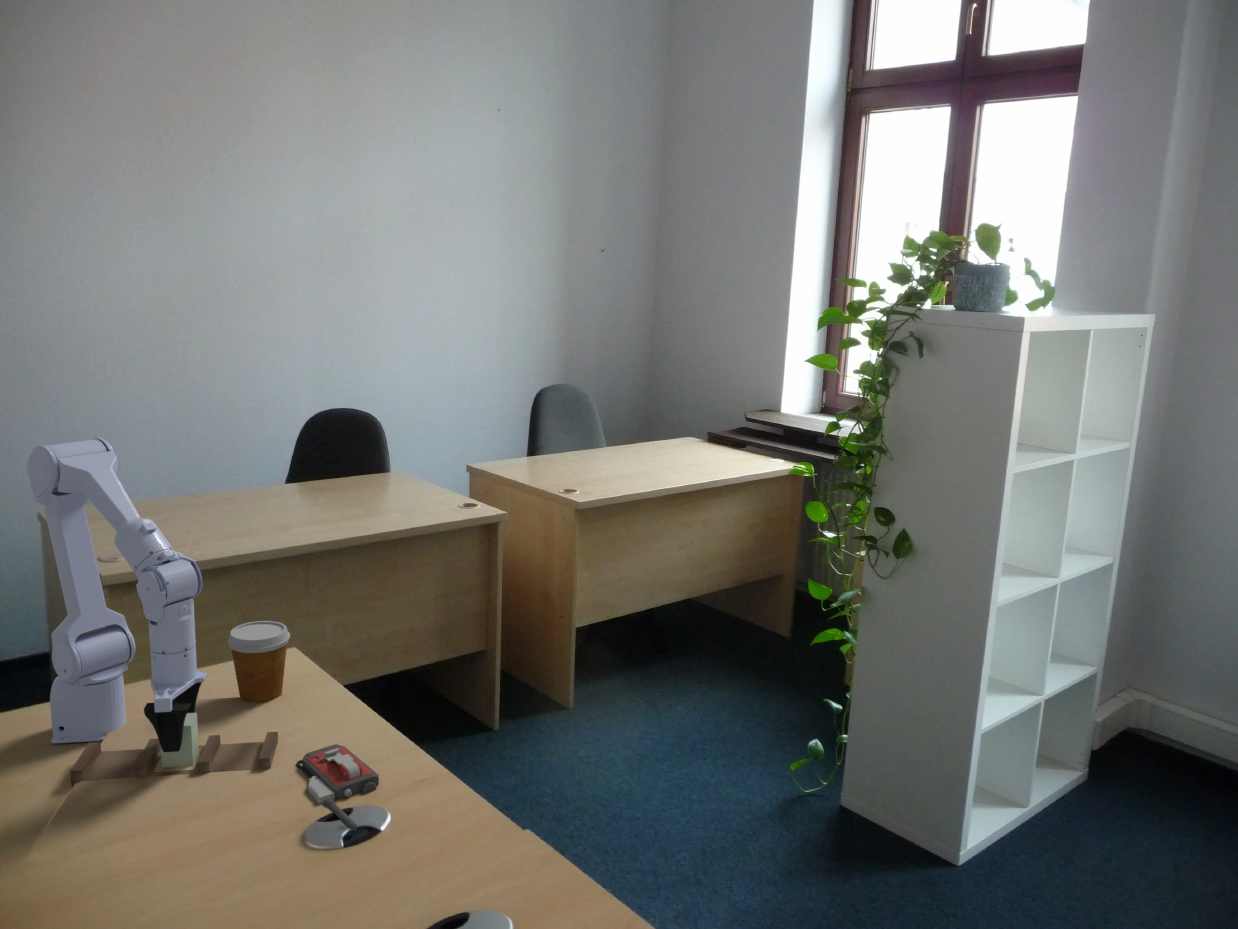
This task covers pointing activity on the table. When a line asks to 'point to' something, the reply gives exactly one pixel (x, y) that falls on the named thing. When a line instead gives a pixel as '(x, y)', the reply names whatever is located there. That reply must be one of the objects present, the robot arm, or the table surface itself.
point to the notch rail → (150, 764)
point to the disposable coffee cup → (259, 659)
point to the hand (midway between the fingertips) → (178, 737)
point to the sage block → (184, 745)
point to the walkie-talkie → (337, 777)
